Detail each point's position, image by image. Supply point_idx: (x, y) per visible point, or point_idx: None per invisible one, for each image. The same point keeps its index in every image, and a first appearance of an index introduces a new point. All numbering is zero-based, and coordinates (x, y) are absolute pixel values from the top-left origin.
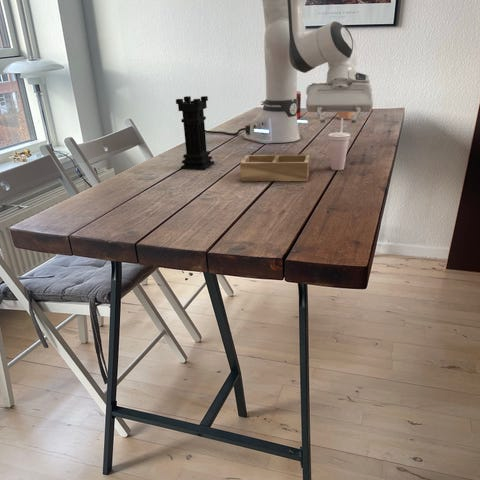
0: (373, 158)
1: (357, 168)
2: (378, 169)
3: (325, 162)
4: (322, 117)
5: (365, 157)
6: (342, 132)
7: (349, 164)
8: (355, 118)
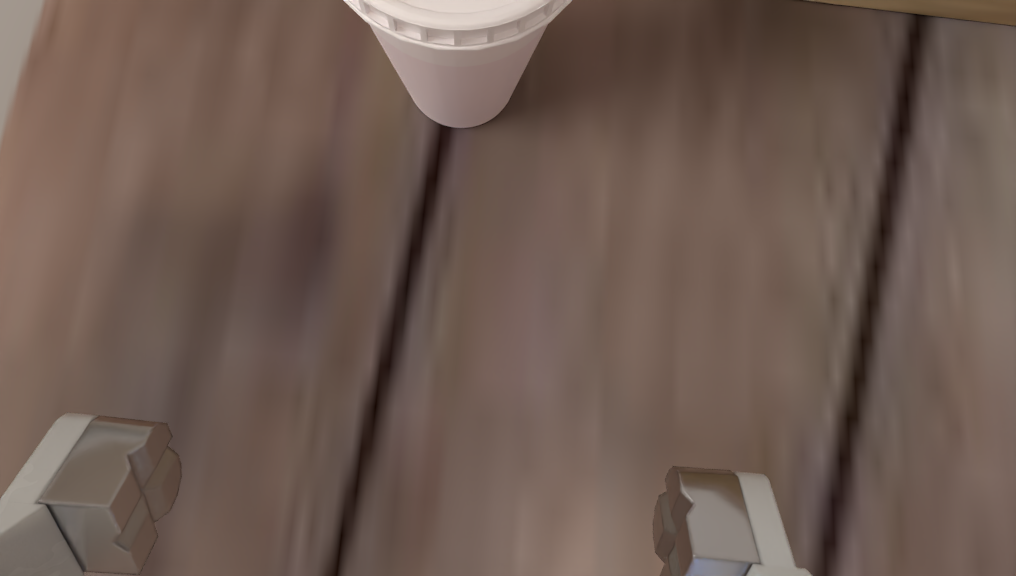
0: None
1: (289, 65)
2: (115, 11)
3: (551, 314)
4: (733, 509)
5: None
6: (397, 1)
7: (339, 213)
8: (69, 432)
